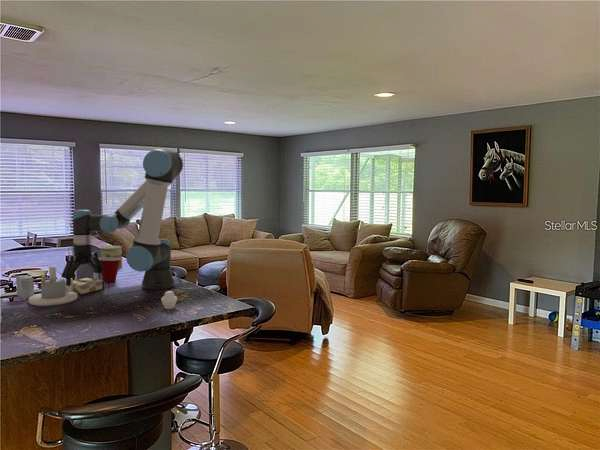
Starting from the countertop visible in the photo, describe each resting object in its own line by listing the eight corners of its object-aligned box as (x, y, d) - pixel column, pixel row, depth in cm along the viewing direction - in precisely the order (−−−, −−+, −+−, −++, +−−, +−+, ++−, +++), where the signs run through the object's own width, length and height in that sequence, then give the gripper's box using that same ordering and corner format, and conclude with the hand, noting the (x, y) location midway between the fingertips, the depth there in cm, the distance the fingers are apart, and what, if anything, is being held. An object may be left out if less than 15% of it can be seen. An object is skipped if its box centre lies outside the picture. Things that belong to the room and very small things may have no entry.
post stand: (74, 292, 199) (73, 261, 198) (80, 301, 185) (79, 268, 183) (27, 297, 189) (25, 265, 188) (30, 308, 175) (28, 272, 173)
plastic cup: (126, 280, 224) (125, 257, 223) (106, 284, 215) (106, 260, 214) (112, 278, 230) (112, 255, 229) (93, 281, 221) (92, 258, 220)
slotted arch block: (102, 288, 208) (102, 280, 207) (82, 293, 198) (81, 285, 197) (86, 286, 212) (85, 277, 212) (65, 290, 202) (65, 282, 202)
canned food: (96, 268, 254) (96, 248, 252) (108, 265, 265) (108, 245, 264) (115, 269, 252) (114, 248, 251) (126, 266, 263) (125, 246, 262)
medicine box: (34, 297, 190) (33, 277, 189) (22, 299, 187) (21, 279, 186) (28, 294, 196) (27, 274, 195) (16, 296, 192) (15, 276, 191)
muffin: (178, 305, 182) (177, 288, 181) (176, 309, 176) (176, 292, 175) (162, 306, 181) (162, 289, 180) (160, 310, 175) (159, 292, 174)
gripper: (99, 240, 216) (100, 283, 218) (51, 246, 193) (53, 294, 195) (110, 241, 213) (111, 285, 215) (63, 247, 190) (64, 296, 192)
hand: (83, 289), depth 205 cm, fingers open, 13 cm apart
